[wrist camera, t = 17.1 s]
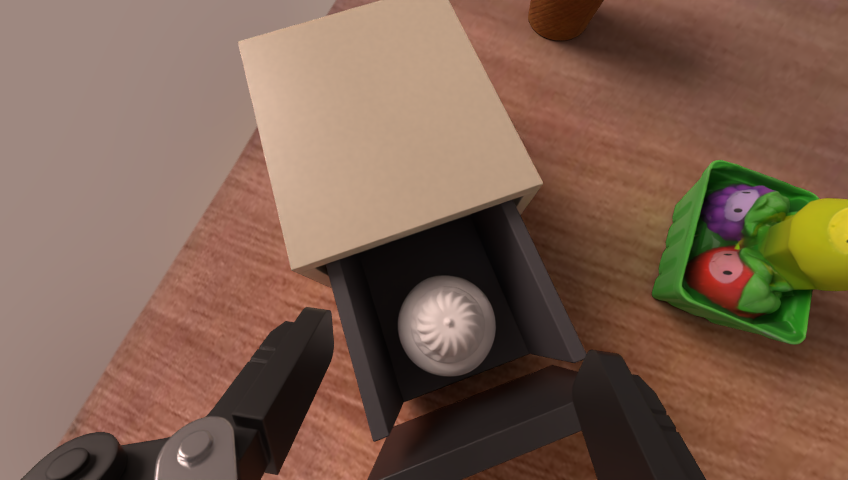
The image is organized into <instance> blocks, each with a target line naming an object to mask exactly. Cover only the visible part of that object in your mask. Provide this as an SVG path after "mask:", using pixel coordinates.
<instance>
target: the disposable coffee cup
mask: <svg viewBox="0 0 848 480" xmlns="http://www.w3.org/2000/svg"><path fill="white" fill-rule="evenodd" d="M603 1H604V0H531V2H530V9H529V14H528V19H529V23H530V25H531V27H532V28H533V29H534V30H535V31H536V32H537V33H538V34H540V35H541V36H543V37H546V38H548V39H552V40H569V39H572V38H575V37H577V36H579V35H580V34H581V33H582V32H583V31H584V30H585V29H586V27H587V25H588V24H589V22H590V21H591V19H592V18H593V16H594V14H595V13H596V12H597V10H598V8H599V7H600V5H601V4H602V2H603Z"/></svg>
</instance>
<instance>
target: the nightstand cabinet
mask: <svg viewBox="0 0 848 480" xmlns="http://www.w3.org/2000/svg"><path fill="white" fill-rule="evenodd" d="M238 44H239V48H240V53H241V57H242V61H243V66H244V69H245V74H246V78H247V83H248V87H249V91H250V96H251V100H252V104H253V108H254V113H255V117H256V121H257V126H258V130H259V134H260V138H261V143H262V147H263V151H264V155H265V160H266V164H267V168H268V172H269V177H270V181H271V185H272V190H273V194H274V198H275V202H276V207H277V211H278V215H279V219H280V224H281V228H282V232H283V237H284V241H285V245H286V249H287V254H288V258H289V262H290V266H291V270H292V271H294V272H296V273H299V274H301V275H303V276H305V277H308V278H310V279H312V280H314V281H316V282H319V283H321V284H323V285H325V286H328V287H330V288H332V286H331V282H330V279H329V275H328V271H327V267H326V264H327V263H330V262H333V261H336V260H339V259H342V258H345V257H348V256H351V255H353V254H356V253H359V252H362V251H365V250H368V249H371V248H374V247H377V246H379V245H382V244H385V243H388V242H391V241H394V240H397V239H400V238H403V237H405V236H408V235H411V234H414V233H417V232H420V231H423V230H426V229H429V228H431V227H434V226H437V225H440V224H443V223H446V222H449V221H452V220H455V219H457V218H460V217H463V216H466V215H469V214H472V213H475V212H478V211H481V210H483V209H486V208H489V207H492V206H495V205H498V204H501V203H504V202H507V201H509V200H512V199H513V201H514V203H515V205H516V207H517V210H518V212H519V214H520V215H521V214H522V212H523V211H524V210H525V208H526V207H527V205H528V204H529V203H530V201H531V200H532V199H533V197H534V196H535V195H536V193H537V192H538V190H539V189H540V187H541V186H542V185H543V181H542V180H541V178H540V176H539V174H538V172H537V170H536V168H535V166H534V164H533V162H532V160H531V158H530V156H529V154H528V152H527V151H526V149H525V147H524V145H523V143H522V141H521V139H520V137H519V135H518V133H517V131H516V129H515V127H514V125H513V124H512V122H511V120H510V118H509V116H508V114H507V112H506V110H505V108H504V106H503V104H502V102H501V100H500V98H499V96H498V95H497V93H496V91H495V89H494V87H493V85H492V83H491V81H490V79H489V77H488V75H487V73H486V71H485V69H484V67H483V66H482V64H481V62H480V60H479V58H478V56H477V54H476V52H475V50H474V48H473V46H472V44H471V42H470V40H469V38H468V37H467V35H466V33H465V31H464V29H463V27H462V25H461V23H460V21H459V19H458V17H457V15H456V13H455V11H454V10H453V8H452V6H451V4H450V2H449V0H380V1H377V2H373V3H370V4H367V5H363V6H360V7H356V8H353V9H349V10H346V11H342V12H339V13H335V14H332V15H328V16H325V17H322V18H318V19H315V20H311V21H308V22H305V23H301V24H298V25H294V26H291V27H287V28H284V29H280V30H277V31H273V32H270V33H266V34H263V35H259V36H256V37H252V38H249V39H246V40H242V41H239V42H238Z"/></svg>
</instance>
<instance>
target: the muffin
mask: <svg viewBox="0 0 848 480" xmlns="http://www.w3.org/2000/svg"><path fill="white" fill-rule="evenodd" d="M495 331H496V321H495V315H494V311H493V308H492V306H491V304H490V302H489V300H488V298H487V297H486V296H485V294H484V293H483V292H482V291H481V290H480V289H479V288H478V287H477V286H475V285H474V284H473V283H471V282H469V281H467V280H465V279H463V278H459V277H455V276H443V275H442V276H434V277H430V278H427V279H425V280H423V281H421V282H420V283H419V284H417V285H416V286H415V287H414V288H413V289H412V290H411V291H410V293H409V294H408V295H407V297H406V298H405V300H404V302H403V304H402V306H401V309H400V312H399V317H398V334H399V338H400V342H401V345H402V347H403V349H404V351H405V353H406V354H407V356H408V357H409V358H410V359H411V360H412V362H413V363H415V364H416V365H417V366H418V367H420V368H421V369H423V370H424V371H426V372H429V373H432V374H435V375H439V376H459V375H463V374H466V373H469V372H471V371H472V370H474V369H475V368H476V367H478V366H479V365H480V364H481V363H482V362H483V360H484V359H485V358H486V356H487V355H488V353H489V351H490V349H491V347H492V344H493V341H494V338H495Z"/></svg>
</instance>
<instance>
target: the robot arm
mask: <svg viewBox="0 0 848 480" xmlns="http://www.w3.org/2000/svg"><path fill="white" fill-rule="evenodd" d="M333 350H334V338H333V326H332V314H331V311H330V310H324V309H317V308H311V307H306V308H304V309H303V311H302V312H301V313H300V315H299V316H298V318H297V319H296V321H295V322H288V321H285V322H284V323H283V324H281V325H280V326H278V327H277V328H276V329H274V330H273V331H271V332H270V333H269V335H268V336H267V337H266V339H265V340H264V341H263V343H262V344H261V345H260V348H259V349H257V351H256V352H255V353H254V355H253V356H252V357H251V360H250V362H248V363H247V364H246V365H245V367H244V368H243V369H242V371H241V372H240V373H239V375H238V376H237V377H236V379H235V380H234V381H233V383H232V384H231V385H230V387H229V388H228V389H227V391H226V392H225V393H224V395H223V396H222V397H221V399H220V400H219V401H218V403H217V404H216V405H215V407H214V408H213V409H212V410H211V412H210V413H209V414H208V415H207V416H206V417H204V418H201V419H198V420H195V421H193V422H191V423H189V424H187V425H185V426H184V427H182V428H181V429H180V430H178V431H177V432H176V433H175V434H174V435H172V437H168V438H164V439H158V440H152V441H146V442H140V443H133V444H127V445H120V444H119V442H118V441H117V439H116V438H115V437H114V436H113V435H111V434H110V433H105V432H96V433H90V434H86V435H83V436H80V437H77V438H75V439H73V440H70V441H68V442H66V443H65V444H63V445H61V446H59V447H58V448H56V449H55V450H53V451H52V452H50V453H49V454H48V455H47V456H45V457H44V458H43V459H42V460H41V461H39V462H38V463H37V464H36V465H35V466H34V467H33V468H32V469H31V470H30V471H29V472H28V473H27V474H26V475H25V476H24V477H23V478H22V479H21V480H261V478H262V476H263V474H264V473H270V474H275V475H278V474H279V472H280V469H281V467H282V465H283V463H284V461H285V459H286V457H287V454H288V452H289V450H290V448H291V446H292V444H293V442H294V439H295V437H296V435H297V433H298V431H299V429H300V427H301V424H302V422H303V420H304V418H305V416H306V414H307V412H308V409H309V407H310V405H311V403H312V401H313V399H314V397H315V394H316V392H317V390H318V388H319V386H320V384H321V382H322V379H323V377H324V375H325V373H326V371H327V369H328V367H329V364H330V362H331V359H332V355H333ZM572 400H573V404H574V407H575V411H576V414H577V417H578V420H579V423H580V426H581V429H582V432H583V436H584V439H585V442H586V445H587V448H588V451H589V454H590V457H591V461H592V464H593V467H594V470H595V473H596V476H597V479H598V480H706V478H705V477H704V475H703V473H702V472H701V470H700V468H699V466H698V465H697V463H696V461H695V460H694V458H693V456H692V454H691V453H690V451H689V449H688V448H687V446H686V444H685V443H684V441H683V439H682V437H681V436H680V434H679V432H676V427H675V425H674V424H673V422H672V420H671V419H670V417H669V415H666V410H665V408H664V407H663V405H662V403H661V402H660V400H659V398H658V396H657V395H656V393H655V392H654V391H653V390H652V389H651V388H650V387H649V386H648V385H647V384H646V383H645V382H644V381H643V380H642V379H641V378H640V377H639V376H638V375H633V374H631V372H630V370H629V368H628V367H627V365H626V363H625V361H624V359H623V358H622V357H621V355H619V354H617V353H610V352H603V351H597V350H590V351H588V353H587V354H586V356H585V359H584V361H583V363H582V365H581V367H580V369H579V371H578V373H577V376H576V378H575V380H574V382H573V386H572Z"/></svg>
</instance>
